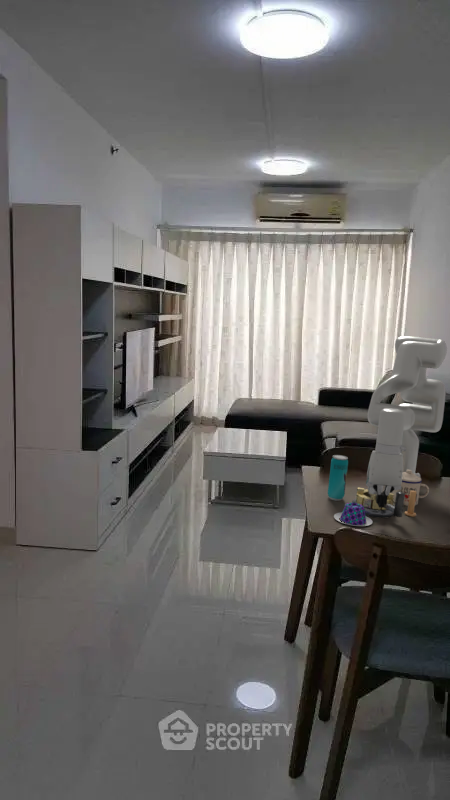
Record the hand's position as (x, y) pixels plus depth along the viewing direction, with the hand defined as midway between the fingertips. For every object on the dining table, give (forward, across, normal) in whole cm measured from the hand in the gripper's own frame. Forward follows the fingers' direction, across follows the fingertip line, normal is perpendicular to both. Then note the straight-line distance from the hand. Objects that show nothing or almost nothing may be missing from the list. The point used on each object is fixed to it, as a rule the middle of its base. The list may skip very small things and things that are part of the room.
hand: (380, 505), depth 190 cm
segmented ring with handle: (+3, -2, -9) cm, 9 cm away
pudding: (+6, +8, 0) cm, 10 cm away
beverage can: (+6, +12, -20) cm, 24 cm away
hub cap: (+6, 0, -12) cm, 13 cm away
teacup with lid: (+6, -15, -24) cm, 29 cm away
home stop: (+6, -12, -11) cm, 17 cm away
